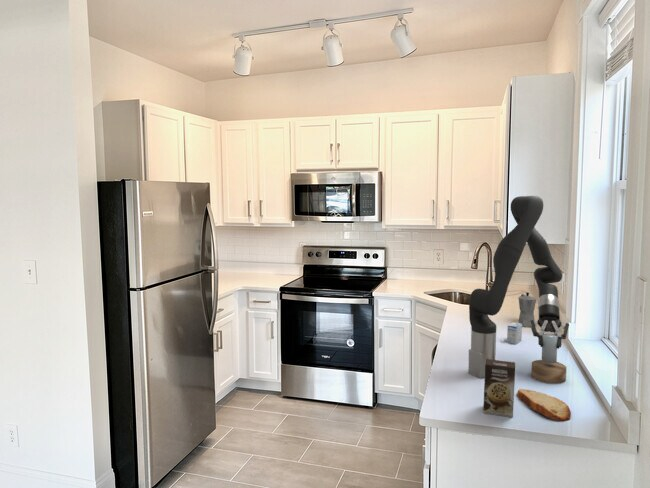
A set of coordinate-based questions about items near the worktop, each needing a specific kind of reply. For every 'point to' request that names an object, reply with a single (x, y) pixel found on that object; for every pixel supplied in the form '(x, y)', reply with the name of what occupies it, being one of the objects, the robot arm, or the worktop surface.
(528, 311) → the coffeepot
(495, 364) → the coffee box
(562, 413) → the bread slice
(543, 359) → the dome-topped grey cylinder
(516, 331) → the medicine box
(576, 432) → the worktop surface
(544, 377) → the walnut round
